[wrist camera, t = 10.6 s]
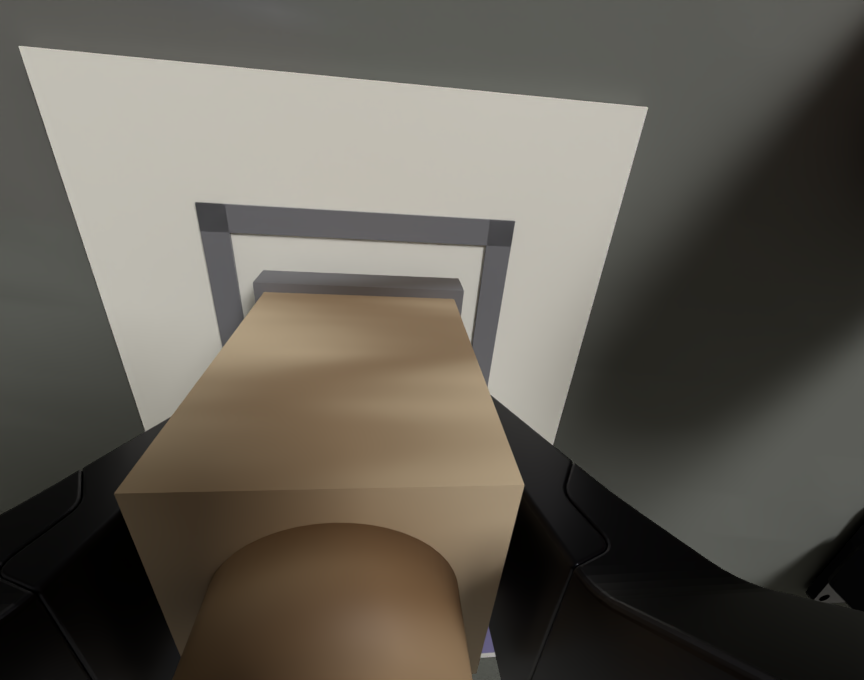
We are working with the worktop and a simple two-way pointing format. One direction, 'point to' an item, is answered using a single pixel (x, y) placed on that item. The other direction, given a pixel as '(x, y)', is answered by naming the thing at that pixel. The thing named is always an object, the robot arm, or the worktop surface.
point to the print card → (332, 206)
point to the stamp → (331, 490)
